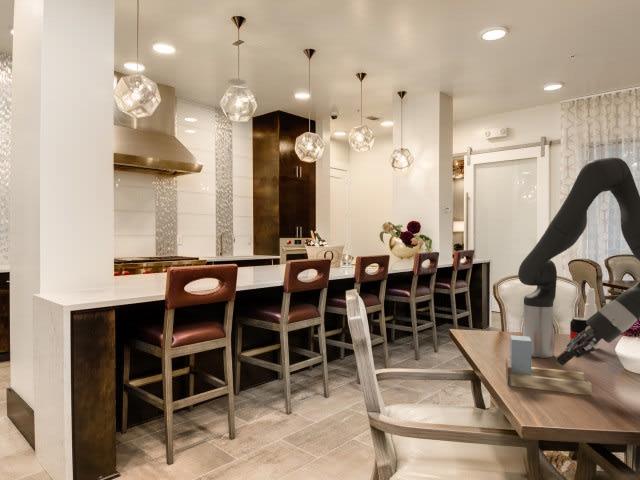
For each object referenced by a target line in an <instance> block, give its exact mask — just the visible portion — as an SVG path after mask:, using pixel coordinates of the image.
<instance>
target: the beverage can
mask: <svg viewBox="0 0 640 480" xmlns="http://www.w3.org/2000/svg"><path fill="white" fill-rule="evenodd" d="M571 319H572V320H571V321H570V322H569V323H570V324H569V342H570V341H571V340H572V339H573V338H574V337H575V335H576V334H577V333H581V332H582V331H586V330H588V329H590V326H589V325H588V324H587V323H586V320H588V318H584V317H580V316H573V317H572V318H571Z"/></svg>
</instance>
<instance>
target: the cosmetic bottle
mask: <svg viewBox="0 0 640 480" xmlns="http://www.w3.org/2000/svg"><path fill="white" fill-rule="evenodd" d="M595 290H596V289H595V288H589V287H588V288H587V291H586V301H585V302H586V303H585V304H584V313H583V314H584V316H583V318H588V319H589V318H590V317H591V316H593V315H594V314H595V313H596V312H598V309H597V304H596V291H595ZM599 342H600V341H599ZM599 342H598V343H597V346H595V347H594V348H595V349H594V350H599V349H600V348H601V347H600V343H599Z"/></svg>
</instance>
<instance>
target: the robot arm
mask: <svg viewBox="0 0 640 480" xmlns="http://www.w3.org/2000/svg"><path fill="white" fill-rule="evenodd" d="M603 192H610V193H611V194H612V196H613V197H614V198H615V200H616V202H617V204H618V206H619V213H620V230H621V233H622V236H623V238H624V241H625V243H626V244H627V246H628V248H629V249H630V251H631V253H632V255H633V256H634V257H635V259H637V260H638V261H639V262H640V192H639V190H638V187H637V184H636V182H635V178H634V177H633V174H632V171H631V169H630V166H629V165H628V163H627V162H626V161H625V160H624V159H622V158H620V157H606V158H605V157H603V158H597V159H593V160H590V161H588V162H586V163H585V165H583V167H581V169H580V171H579V173H578V175H577V177H576V179H575V181H574V183H573V186H572V188H571V189H570V191H569V193H568V195H567V196H566V198H565V200H564V202H563V203H562V204H561V206H560V208H559V210H558V211H557V212H556V214H555V216H554V217H553V218H552V220H551V222H549V225H548V227H546V230H545V231H544V233H543V234H542V236H541V237H540V239H539V241H538V242H537V243H536V245H535V246H534V247H533V248H532V250H531V251H530V252H529V253H528V254H527V256H526V257H525V258H524V259H523V260H522V262H521V263H520V266H519V268H518V280H519V281H520V283H521V284H523V285H525V286H531V287H532V286H534V287H535V286H536V289H535V290H534V291H532V292H531V293H529V294H527V295H525V296H524V297H523V325H522V326H523V330H522V331H523V334H522V336H526V337H530V339H531V341H532V349H531V353H532V356H531V357H534V358H542V359H544V358H552V357H553V356H554V355H555V334H556V333H555V327H554V302H555V299H556V291H557V281H558V279H557V277H558V272H557V266H556V264H555V263H554V262H553V260H552V259H554V258H555V257H557V256H558V255H560V254H562V253H564V252H565V251H567V250H569V249H571V247H572V246H575V244H576V242H577V241H578V240H579V238H581V236H582V234H583V233H584V231H585V230H586V228H587V225H588V210H589V208H590V206H591V205H592V203H593V202H594V201H595V199H596V198H597V197H598V196H599V195H600V194H601V193H603ZM638 320H640V280H639V281H638V282H636V283H635V284H634V285H633V286H632V287H629V288H628V289H626V290H625V291H623V292H622V293H621V294H620V295H618V296H617V297H616V298H614V299H613V300H612V301H609V302H608V303H606V304H605V305H604V306H603V307H602V308H599V310H597V312H596V313H595V314H594V315H593V316H591V317H590V318H589V319H588V320H586V323H587V324H588V325H589V326H590V329H588V330H586V331H582V332H581V333H577V334H576V335H575V337H574V338H573V339H572V340H571V341H570V340H569V342H568V344H567V345H566V348H565V350H564V351H563V352H561V353H560V354H558V355H557V356H556V358H555V360H556V361H557V362H558V364H559V365H560V366H564V365H565V364H567V363H568V362H569V361H570V360H572V359H573V358H575V359H576V358H577V359H579V358H580V357H582V356H585V355H587V354H589V353H592V352H594V351H595V350H596V349H595V348H594V347H595V346H597V343H598V342H600V341H601V340H603V341H605V342H606V343H608V344H610V343H612V342H613V341H615V340H616V339H617V338H618V337H619V336H620V335H622V334H623V333H625V332H626V331H627V330H629V329H630V328H631V327H632V326H633V325H634V324H635V323H636V322H637V321H638Z"/></svg>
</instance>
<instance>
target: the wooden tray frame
mask: <svg viewBox="0 0 640 480" xmlns="http://www.w3.org/2000/svg"><path fill="white" fill-rule="evenodd" d="M505 377H506V379H505V380H506V385H507V386H509V387H519V388H525V389H526V388H527V389H534V390H542V391H543V390H544V391H549V392H550V391H551V392H558V393H559V392H560V393H568V394H576V395H583V396H584V395H585V396H592V393H593V391H592V389H593V388H592V387H593V386H592V385H593V384H592V382H591V381H585V373H584V371H574V370H564V369H555V368H544V367H536V366H531V375H522V374H512V366H511V361H510V357H505Z"/></svg>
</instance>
